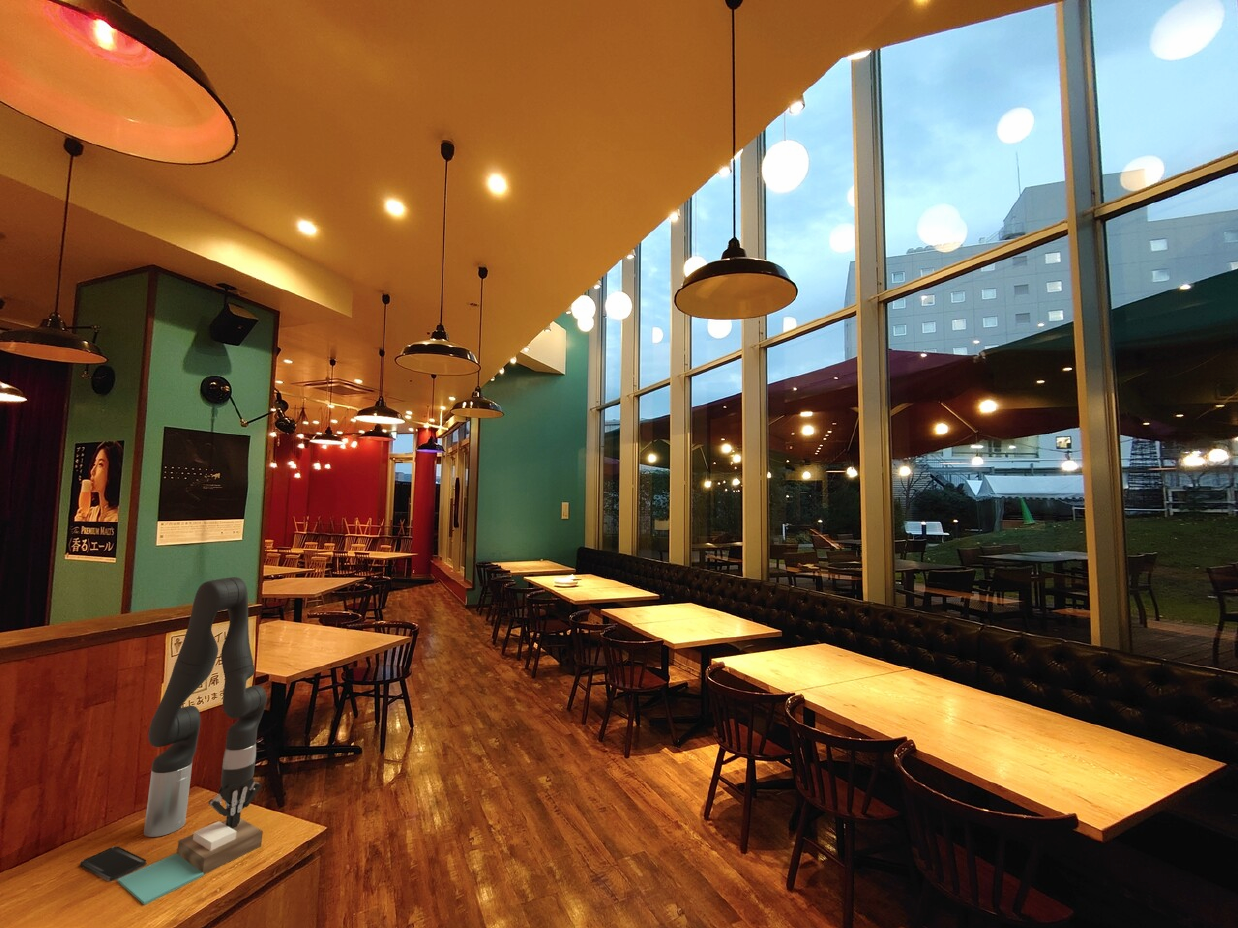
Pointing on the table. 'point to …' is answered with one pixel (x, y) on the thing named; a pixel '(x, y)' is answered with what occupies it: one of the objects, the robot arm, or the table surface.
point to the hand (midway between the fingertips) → (232, 826)
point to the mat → (160, 878)
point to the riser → (221, 848)
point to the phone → (113, 863)
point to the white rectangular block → (214, 835)
